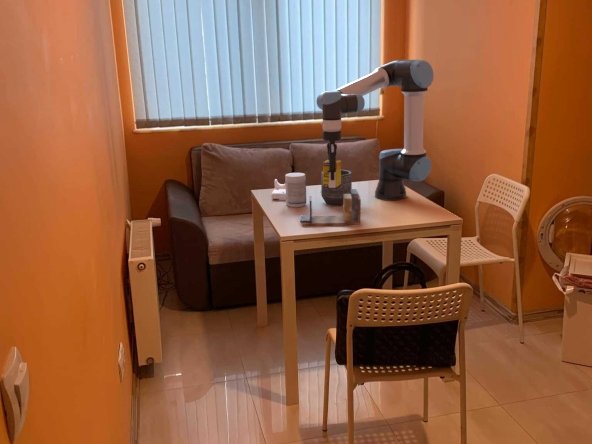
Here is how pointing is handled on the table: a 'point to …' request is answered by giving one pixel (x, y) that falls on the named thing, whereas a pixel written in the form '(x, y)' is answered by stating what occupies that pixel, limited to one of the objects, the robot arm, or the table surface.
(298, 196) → the supplement tub
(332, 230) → the table surface
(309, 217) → the bookend
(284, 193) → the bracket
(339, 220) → the board
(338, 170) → the supplement box
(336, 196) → the planter
